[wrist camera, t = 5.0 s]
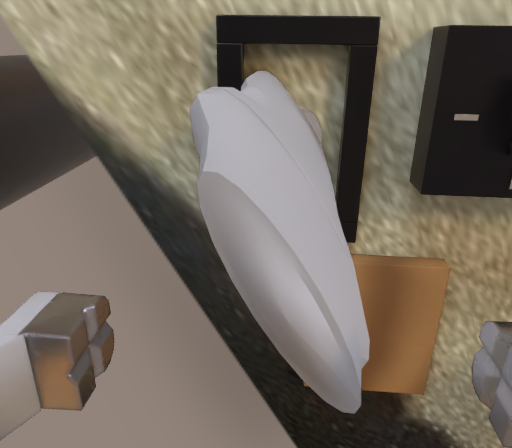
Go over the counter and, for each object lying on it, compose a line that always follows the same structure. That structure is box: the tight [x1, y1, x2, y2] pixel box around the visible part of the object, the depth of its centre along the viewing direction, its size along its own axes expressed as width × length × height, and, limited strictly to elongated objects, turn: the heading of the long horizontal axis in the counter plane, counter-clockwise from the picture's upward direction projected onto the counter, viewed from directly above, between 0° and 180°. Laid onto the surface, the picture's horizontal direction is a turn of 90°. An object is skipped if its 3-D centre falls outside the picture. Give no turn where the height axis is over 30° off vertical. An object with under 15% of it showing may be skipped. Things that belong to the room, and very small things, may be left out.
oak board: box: [304, 254, 451, 395], centre depth 35 cm, size 10×12×2 cm
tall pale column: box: [190, 70, 370, 414], centre depth 20 cm, size 11×4×22 cm, turn 30°
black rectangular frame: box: [216, 15, 381, 243], centre depth 30 cm, size 10×15×1 cm, turn 179°
